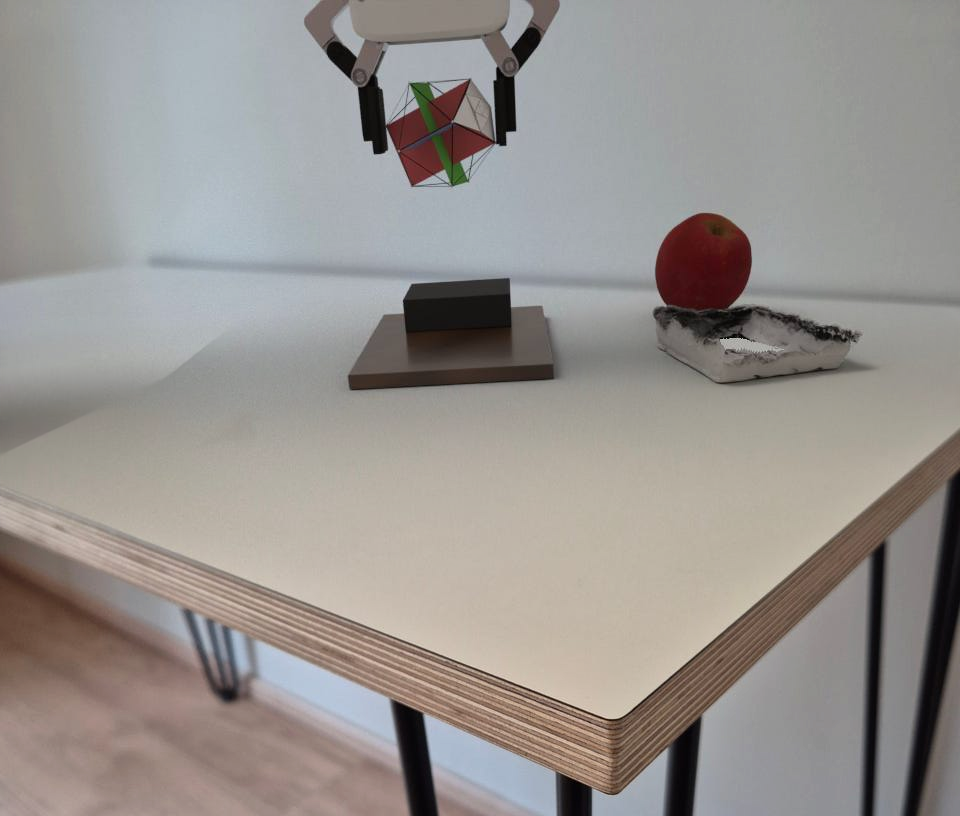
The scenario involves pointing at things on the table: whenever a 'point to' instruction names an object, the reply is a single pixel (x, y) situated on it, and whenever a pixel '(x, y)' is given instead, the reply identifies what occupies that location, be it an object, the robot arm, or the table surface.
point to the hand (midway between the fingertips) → (441, 147)
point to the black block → (457, 305)
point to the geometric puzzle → (442, 132)
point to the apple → (703, 263)
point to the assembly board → (455, 353)
